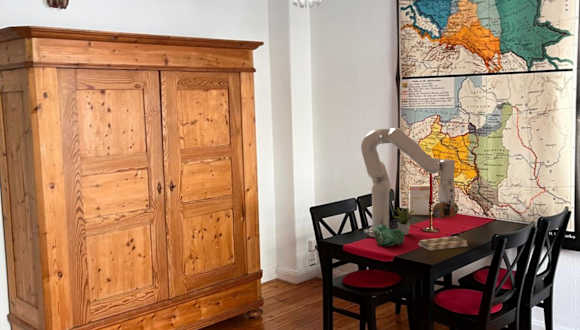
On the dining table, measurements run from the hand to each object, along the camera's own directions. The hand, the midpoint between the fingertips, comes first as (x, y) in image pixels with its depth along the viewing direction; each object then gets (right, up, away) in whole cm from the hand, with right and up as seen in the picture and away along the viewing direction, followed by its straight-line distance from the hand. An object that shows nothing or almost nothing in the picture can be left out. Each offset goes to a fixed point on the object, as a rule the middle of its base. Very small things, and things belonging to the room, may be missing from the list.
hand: (445, 214), depth 328 cm
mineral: (-33, -16, -8) cm, 37 cm away
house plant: (-20, -13, +13) cm, 27 cm away
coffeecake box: (+1, -5, +65) cm, 65 cm away
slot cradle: (-4, -16, -11) cm, 20 cm away
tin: (0, -2, +1) cm, 2 cm away
